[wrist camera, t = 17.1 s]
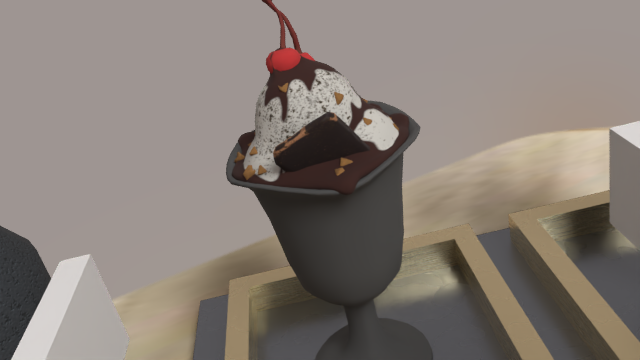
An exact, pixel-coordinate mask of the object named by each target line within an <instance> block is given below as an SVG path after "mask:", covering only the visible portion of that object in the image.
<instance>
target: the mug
mask: <svg viewBox="0 0 640 360" xmlns="http://www.w3.org/2000/svg"><path fill="white" fill-rule="evenodd" d="M50 281H51V277H50V275H49V273H48V272H47V270H46V268H45V266H44V264H43V262H42V260H41V258H40V256H39V254H38V252H37V250H36V249H35V247H34V246H33V245H32V244H31V242H30V241H29V240H27V239H26V238H23V237H21V236H19V235H17V234H16V233H14V232H11V231H9V230H8V229H6V228H3V227H1V226H0V360H11V359H12V357H13V355H14V353H15V351H16V349H17V347H18V345H19V343H20V341H21V339H22V337H23V335H24V333H25V331H26V329H27V327H28V325H29V323H30V321H31V319H32V317H33V315H34V313H35V311H36V309H37V307H38V305H39V303H40V301H41V299H42V297H43V295H44V293H45V291H46V289H47V287H48V285H49V283H50Z"/></svg>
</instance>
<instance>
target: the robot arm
mask: <svg viewBox="0 0 640 360" xmlns="http://www.w3.org/2000/svg"><path fill="white" fill-rule="evenodd" d="M610 223H611V224H612V225H613V226H614V227H615V228H616V229H617V230H618V231H619V232H620V233H621V234H622V235H624V236H625V237H626V238H627V239H628V240H629V241H630V242H631V243H632V244H633V245H634V246H635V247H636V248H637V249H638V250H640V121H638V122H634V123H630V124H625V125H622V126H617V127H613V128H610ZM128 343H129V336H128V334H127V332H126V330H125V328H124V325H123V323H122V321H121V319H120V317H119V315H118V312H117V310H116V308H115V306H114V304H113V302H112V299H111V297H110V295H109V293H108V291H107V289H106V286H105V284H104V282H103V280H102V278H101V276H100V273H99V271H98V269H97V267H96V265H95V262H94V261H93V258H92V256H91V254H88V255H84V256H80V257H76V258H71V259H67V260H63V261H60V263H59V265H58V267H57V269H56V271H55V273H54V275H53V277H52V279H51V281H50V283H49V285H48V287H47V289H46V291H45V293H44V295H43V297H42V299H41V301H40V303H39V305H38V307H37V309H36V311H35V313H34V315H33V317H32V319H31V321H30V323H29V325H28V327H27V329H26V331H25V333H24V335H23V337H22V339H21V341H20V343H19V345H18V347H17V349H16V351H15V353H14V355H13V357H12V359H11V360H124V358H125V354H126V351H127V347H128Z"/></svg>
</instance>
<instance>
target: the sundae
mask: <svg viewBox="0 0 640 360" xmlns="http://www.w3.org/2000/svg"><path fill="white" fill-rule="evenodd" d="M262 1H263V2H264V3H266V4H267V5H268V6H269V7H270V8H271V9H273V10H274V11H275V12H276V13H277V15H278V18H279V22H280V25H281V36H280V38H281V39H280V48H279V49H277V50H275V51H274V52H271V53H270V54H269V56H268V57H267V59H266V65H267V68H268V71H269V72H270V77H269V80H268V82H267V83H266V85H265V86H264V88H263V90H262V91H261V93H260V95H259V98H258V101H257V104H256V114H255V130H254V131H252V132H248V133H245V134H243V135H241V136H240V138H239V140H238V143H237V144H236V146H235V147H234V149H233V151H232V152H231V154H230V157H229V159H228V162H227V168H226V175H227V179H228V181H229V182H230V183H231V184H233V185H237V186H242V187H246V188H249V189H251V190H252V191H253V192H254V193H255V195H256V197H257V198H258V200H259V202H260V204H261V205H262V207H263V209H264V210H265V212H266V214H267V215H268V217H269V219H270V221H271V223H272V226H273V228H274V230H275V232H276V235H277V237H278V239H279V242H280V244H281V246H282V248H283V251H284V253H285V255H286V257H287V260H288V262H289V264H290V266H291V267H292V269H293V271H294V273H295V274H296V276H297V278H298V280H299V281H300V283H301V285H302V287H303V288H304V289H305V291H307V292H308V293H310V294H312V295H313V296H315V297H317V298H320V299H322V300H324V301H326V302H329V303H332V304H336V305H343V306H344V310H345V313H346V317H347V321H348V325H346V326H344V327H343V328H341V329H339V330H338V331H336V332H335V333H334V334H333V335H331V336H330V337H329V338H328V339H327V341H326V342H325V343H324V344H323V345H322V347H321V348H320V350H319V351H318V353H317V355H316V358H315V360H432V358H433V357H432V348H431V346H430V344H429V342H428V340H427V339H426V337H425V336H424V334H423V333H422V332H420V331H419V330H418V329H416V328H415V327H413V326H411V325H409V324H408V323H405V322H401V321H398V320H393V319H388V318H378V316H377V313H376V309H375V304H374V299H375V298H376V297H377V296H379V295H380V294H381V293H382V292H383V291H384V290H385V289H386V288H387V287H388V285H389V284H390V283H391V282H392V281H393V279H394V278H395V277H396V275H397V274H398V272H399V271H400V267H401V263H402V251H403V236H404V227H403V201H402V170H403V169H402V168H403V152H404V151H405V150H406V149H407V148H408V147H409V146H410V145H411V144H412V143H413V142H414V141H415V139H416V138H417V136H418V134H419V131H420V126H419V125H418V124H417V123H416V122H415V121H414V120H413V119H412V118H411V117H410V116H408V115H407V114H406V113H404V112H403V111H401V110H399V109H397V108H395V107H393V106H390V105H387V104H385V103H382V102H375V101H367V100H365V99H363V98H361V97H360V96H359V95H358V94H357V93H356V92H355V90H354V89H353V88H352V86H351V85H350V83H349V82H348V80H347V79H346V78H345V77H344V76H342V75H341V74H340V73H339V72H338V71H336V70H335V69H334V68H332V67H330V66H329V65H327V64H324V63H321V62H317V61H315V60H314V59H313V58H312V57H311V56H310V55H309V54H308V53H302V52H301V49H300V45H299V42H298V38H297V35H296V33H295V31H294V29H293V28H292V26H291V24H290V22H289V20H288V19H287V18H286V16H285V15H284V14H283V13H282V12H281V11H279V10H278V9H277V8H276V7H275V5H274V4H273V3H272V2H271V1H272V0H262ZM283 20H284V21H285V24H286V26H287V27H288V30H289V32H290V35H291V37H292V39H293V43H294V48H295V49H292V48H286V46H285V27H284V21H283Z"/></svg>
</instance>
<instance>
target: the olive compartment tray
mask: <svg viewBox="0 0 640 360" xmlns="http://www.w3.org/2000/svg"><path fill="white" fill-rule="evenodd" d="M508 215H509V227H510V228H507V229H503V230H499V231H494V232H490V233H486V234H482V235H477V236H476V235H475V233H474V232H473V230H472V228H471V227H470V225H469V224H464V225H460V226H456V227H452V228H447V229H443V230H439V231H435V232H430V233H426V234H422V235H418V236H414V237H409V238H405V239H403V251H402V263H401V267H400V271H399V272H398V274H397V275H396V277H395V278H394V279H393V281H392V282H391V283H390V284H389V285H388V287H387V288H386V289H385V290H384V291H383V292H382V293H381V294H380V295H379V296H377V297H376V298H375V299H374V304H375V309H376V313H377V316H378V318H388V319H393V320H398V321H401V322H405V323H408V324H409V325H411V326H413V327H415V328H416V329H418V330H419V331H420V332H422V333H423V334H424V336H425V337H426V339H427V340H428V342H429V344H430V346H431V348H432V357H433V358H432V360H640V250H638V249H637V248H636V247H635V246H634V245H633V244H632V243H631V242H630V241H629V240H628V239H627V238H626V237H625V236H624V235H622V234H621V233H620V232H619V231H618V230H617V229H616V228H615V227H614V226H613V225H612V224H611V223H610V190H608V191H604V192H600V193H595V194H591V195H587V196H583V197H578V198H574V199H570V200H566V201H562V202H557V203H553V204H549V205H545V206H540V207H536V208H532V209H528V210H523V211H519V212H515V213H511V214H508ZM346 325H348V321H347V317H346V313H345V310H344V306H343V305H336V304H332V303H329V302H326V301H324V300H322V299H320V298H317V297H315V296H313V295H312V294H310V293H308V292H307V291H305V289H304V288H303V287H302V285H301V283H300V281H299V280H298V278H297V276H296V274H295V273H294V271H293V269H292V267H291V266H287V267H282V268H278V269H274V270H270V271H265V272H261V273H257V274H253V275H249V276H244V277H240V278H236V279H232V280H229V294H228V295H223V296H219V297H215V298H211V299H207V300H202V301H200V309H199V317H198V324H197V332H196V340H195V348H194V356H193V360H315V358H316V355H317V353H318V351H319V350H320V348H321V347H322V345H323V344H324V343H325V342H326V341H327V339H328V338H329V337H330V336H331V335H333V334H334V333H335V332H336V331H338V330H339V329H341V328H343V327H344V326H346Z"/></svg>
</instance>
